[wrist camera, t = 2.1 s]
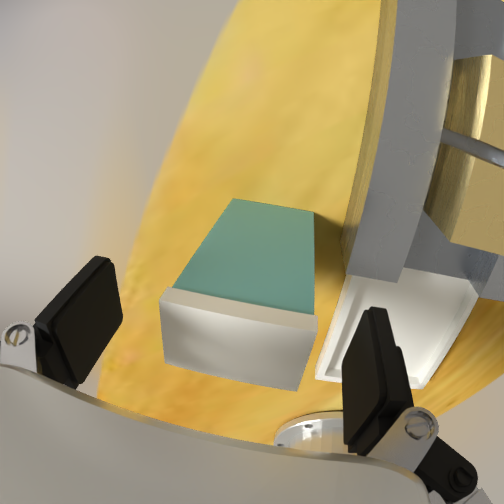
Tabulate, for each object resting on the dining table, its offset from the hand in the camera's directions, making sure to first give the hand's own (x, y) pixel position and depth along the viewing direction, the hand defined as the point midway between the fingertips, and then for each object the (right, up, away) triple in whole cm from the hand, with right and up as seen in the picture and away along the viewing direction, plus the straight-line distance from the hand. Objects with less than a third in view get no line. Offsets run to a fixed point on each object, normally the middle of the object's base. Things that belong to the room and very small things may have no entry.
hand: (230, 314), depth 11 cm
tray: (+12, -3, +11) cm, 16 cm away
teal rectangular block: (+2, +4, +9) cm, 10 cm away
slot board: (+13, +10, +4) cm, 17 cm away
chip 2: (+12, +6, +3) cm, 14 cm away
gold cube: (+13, +10, +1) cm, 16 cm away
